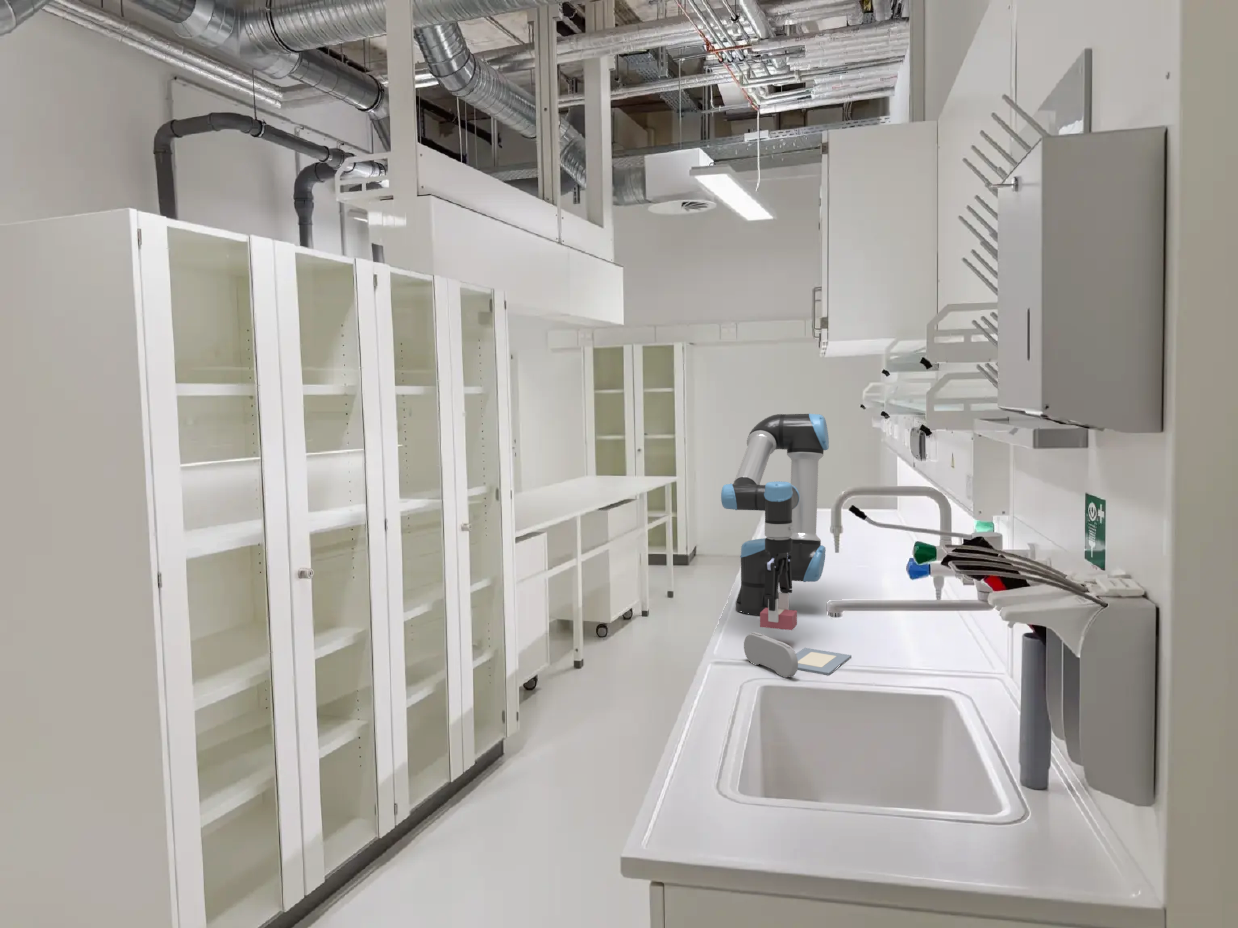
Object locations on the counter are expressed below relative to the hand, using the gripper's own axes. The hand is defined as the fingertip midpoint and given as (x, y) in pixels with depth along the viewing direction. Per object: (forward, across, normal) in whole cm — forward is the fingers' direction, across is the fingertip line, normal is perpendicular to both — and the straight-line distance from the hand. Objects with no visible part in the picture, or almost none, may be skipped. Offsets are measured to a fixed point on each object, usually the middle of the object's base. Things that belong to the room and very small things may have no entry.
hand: (778, 618), depth 233 cm
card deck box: (+2, 0, 0) cm, 2 cm away
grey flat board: (+7, -9, -15) cm, 19 cm away
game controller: (+8, -21, -7) cm, 24 cm away
